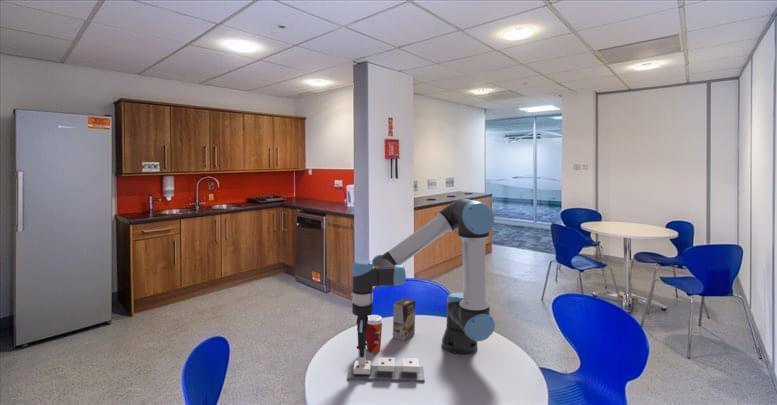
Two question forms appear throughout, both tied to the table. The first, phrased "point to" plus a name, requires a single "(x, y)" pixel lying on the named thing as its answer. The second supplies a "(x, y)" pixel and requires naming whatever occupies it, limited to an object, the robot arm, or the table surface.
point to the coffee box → (404, 319)
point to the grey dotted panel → (388, 375)
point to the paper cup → (374, 333)
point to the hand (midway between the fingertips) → (362, 363)
